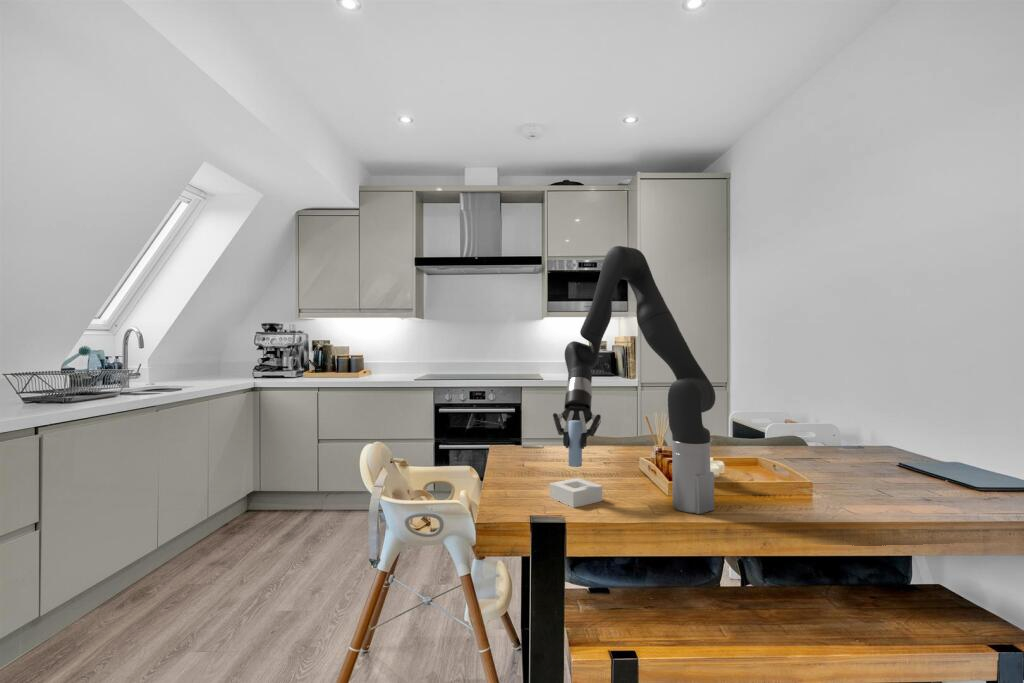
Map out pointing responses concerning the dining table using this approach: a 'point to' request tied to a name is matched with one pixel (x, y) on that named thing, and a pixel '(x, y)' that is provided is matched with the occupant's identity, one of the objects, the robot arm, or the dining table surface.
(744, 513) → the dining table surface
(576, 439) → the peg
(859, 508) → the dining table surface
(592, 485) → the socket
